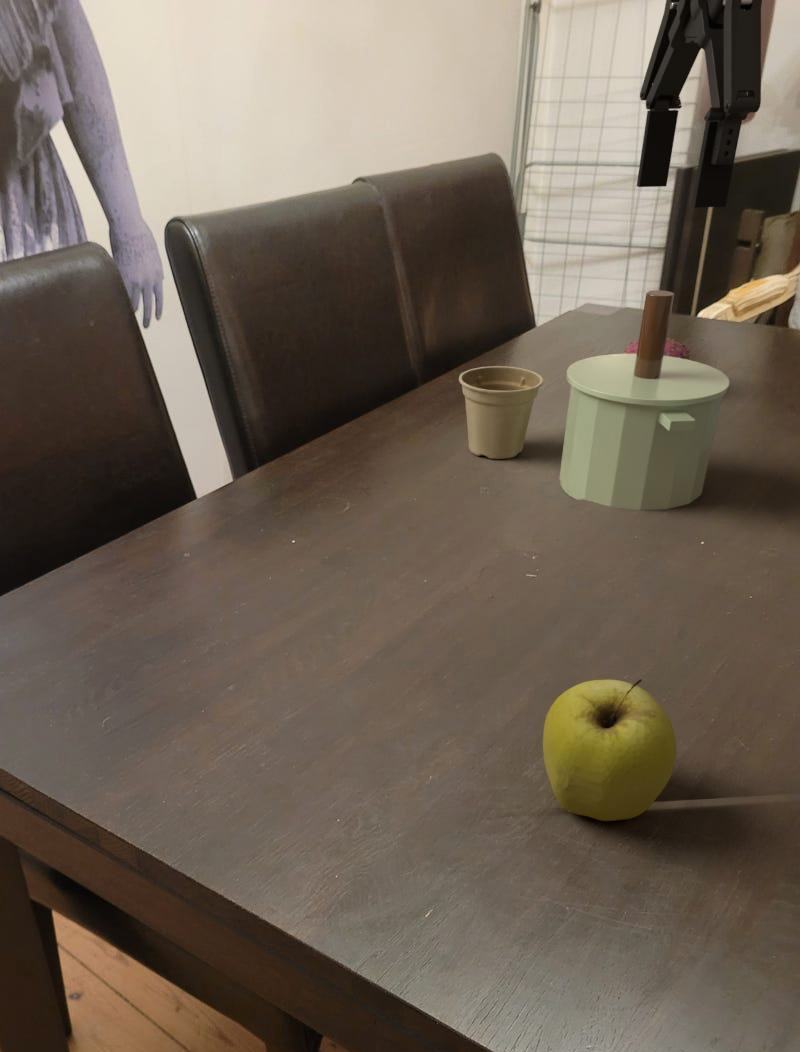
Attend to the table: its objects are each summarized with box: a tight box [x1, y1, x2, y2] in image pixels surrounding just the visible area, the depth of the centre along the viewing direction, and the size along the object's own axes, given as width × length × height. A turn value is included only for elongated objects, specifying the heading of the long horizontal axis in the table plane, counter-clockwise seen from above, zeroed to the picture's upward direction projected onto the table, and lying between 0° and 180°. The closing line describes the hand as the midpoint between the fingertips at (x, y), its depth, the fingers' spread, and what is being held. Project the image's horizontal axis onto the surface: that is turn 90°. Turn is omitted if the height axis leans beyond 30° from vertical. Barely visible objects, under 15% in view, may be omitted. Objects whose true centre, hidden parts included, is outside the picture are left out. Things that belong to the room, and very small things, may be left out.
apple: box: [542, 678, 677, 822], centre depth 58 cm, size 8×8×10 cm
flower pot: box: [458, 365, 544, 460], centre depth 111 cm, size 9×9×9 cm
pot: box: [559, 385, 723, 511], centre depth 100 cm, size 15×20×12 cm
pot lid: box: [565, 289, 731, 406], centre depth 95 cm, size 16×16×9 cm
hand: (677, 196), depth 88 cm, fingers open, 13 cm apart
